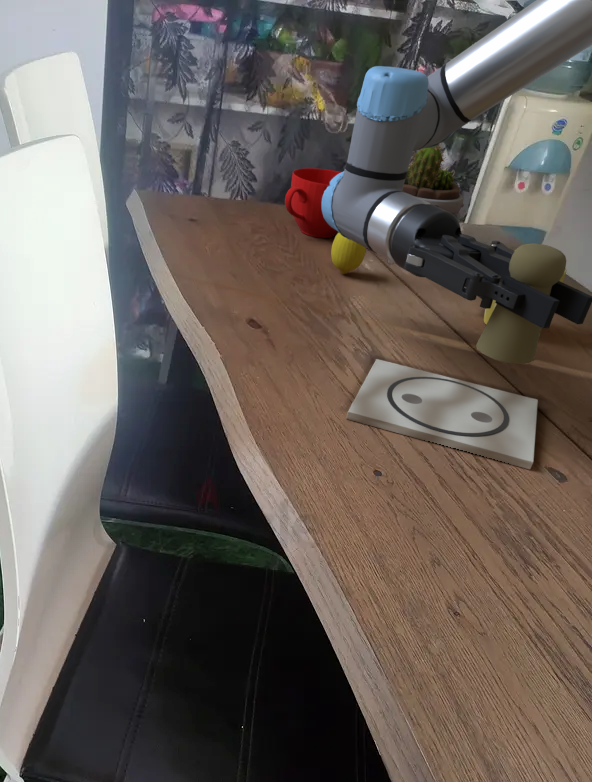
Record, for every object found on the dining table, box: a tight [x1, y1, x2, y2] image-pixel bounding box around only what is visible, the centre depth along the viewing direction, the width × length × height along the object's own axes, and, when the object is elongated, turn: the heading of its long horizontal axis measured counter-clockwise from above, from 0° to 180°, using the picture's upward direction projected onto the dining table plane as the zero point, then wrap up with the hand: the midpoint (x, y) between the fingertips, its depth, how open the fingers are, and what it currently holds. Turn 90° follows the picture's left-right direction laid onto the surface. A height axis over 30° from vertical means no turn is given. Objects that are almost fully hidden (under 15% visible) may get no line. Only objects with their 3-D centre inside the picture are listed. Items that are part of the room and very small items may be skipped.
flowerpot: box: [402, 142, 465, 215], centre depth 133 cm, size 14×15×20 cm
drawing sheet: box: [346, 358, 539, 470], centre depth 85 cm, size 20×16×1 cm
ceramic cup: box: [284, 167, 342, 239], centre depth 137 cm, size 13×17×10 cm
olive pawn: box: [475, 242, 567, 365], centre depth 75 cm, size 6×6×11 cm
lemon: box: [330, 232, 367, 275], centre depth 120 cm, size 6×6×8 cm
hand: (568, 312), depth 71 cm, fingers closed on olive pawn, 4 cm apart
